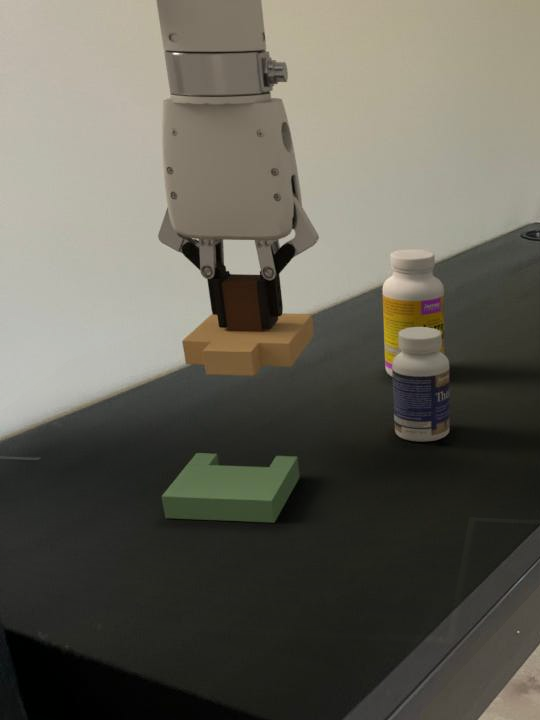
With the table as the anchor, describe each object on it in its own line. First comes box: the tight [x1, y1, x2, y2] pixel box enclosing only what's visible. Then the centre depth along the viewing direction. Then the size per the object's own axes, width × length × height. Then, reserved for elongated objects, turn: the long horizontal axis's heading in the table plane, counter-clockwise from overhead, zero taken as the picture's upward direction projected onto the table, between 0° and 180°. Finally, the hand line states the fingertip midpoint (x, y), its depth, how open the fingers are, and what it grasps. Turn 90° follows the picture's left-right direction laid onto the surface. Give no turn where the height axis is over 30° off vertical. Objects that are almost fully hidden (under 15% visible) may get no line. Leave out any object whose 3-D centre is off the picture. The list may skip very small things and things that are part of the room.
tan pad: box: [181, 273, 315, 377], centre depth 83 cm, size 9×12×6 cm
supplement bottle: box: [382, 248, 445, 378], centre depth 108 cm, size 7×7×13 cm
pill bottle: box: [392, 327, 451, 443], centre depth 93 cm, size 5×5×10 cm
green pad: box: [161, 452, 301, 524], centre depth 83 cm, size 9×9×2 cm
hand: (249, 321), depth 85 cm, fingers closed on tan pad, 3 cm apart
